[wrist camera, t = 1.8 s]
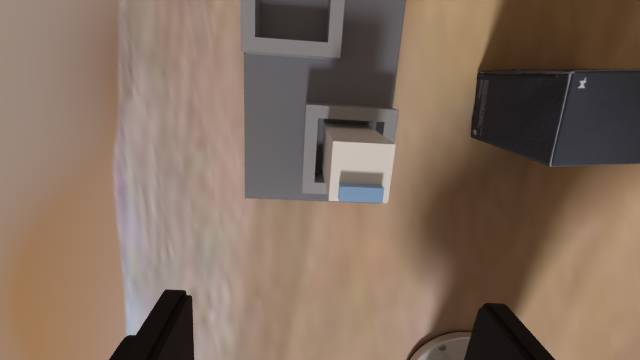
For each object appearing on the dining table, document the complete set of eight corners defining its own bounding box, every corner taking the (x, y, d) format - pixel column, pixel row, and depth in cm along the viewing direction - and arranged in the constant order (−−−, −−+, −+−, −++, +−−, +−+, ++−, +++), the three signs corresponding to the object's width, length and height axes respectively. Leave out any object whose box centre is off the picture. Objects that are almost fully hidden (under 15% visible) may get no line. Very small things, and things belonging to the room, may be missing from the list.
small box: (467, 142, 31) (547, 172, 21) (476, 70, 29) (568, 65, 19) (574, 138, 31) (701, 167, 21) (589, 68, 29) (738, 62, 19)
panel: (410, -58, 26) (428, -81, 22) (378, 200, 32) (387, 215, 28) (245, -74, 25) (235, -101, 21) (246, 195, 31) (239, 210, 28)
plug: (368, 125, 29) (399, 147, 20) (363, 167, 30) (390, 207, 21) (323, 122, 29) (334, 143, 19) (321, 165, 30) (329, 205, 20)
